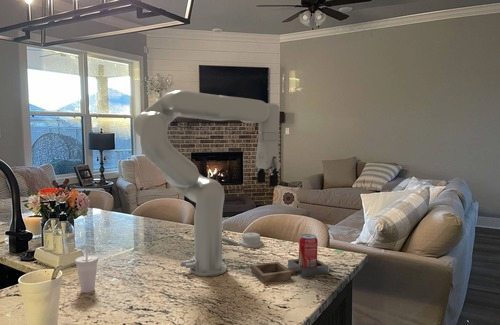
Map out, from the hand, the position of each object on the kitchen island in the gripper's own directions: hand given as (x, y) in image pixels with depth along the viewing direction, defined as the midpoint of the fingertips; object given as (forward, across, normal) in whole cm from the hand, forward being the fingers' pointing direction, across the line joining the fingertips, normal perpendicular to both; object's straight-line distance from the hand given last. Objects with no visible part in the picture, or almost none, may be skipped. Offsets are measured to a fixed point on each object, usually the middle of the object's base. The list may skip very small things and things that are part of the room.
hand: (267, 184), depth 137 cm
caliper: (+29, -27, -9) cm, 41 cm away
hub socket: (+28, +16, +7) cm, 33 cm away
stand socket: (+28, +15, -5) cm, 33 cm away
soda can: (+28, +16, +9) cm, 33 cm away
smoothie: (+30, +2, -61) cm, 68 cm away
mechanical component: (+29, -19, +3) cm, 35 cm away
